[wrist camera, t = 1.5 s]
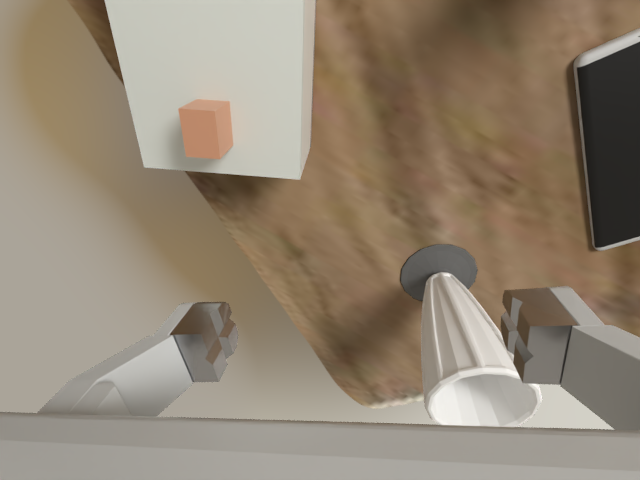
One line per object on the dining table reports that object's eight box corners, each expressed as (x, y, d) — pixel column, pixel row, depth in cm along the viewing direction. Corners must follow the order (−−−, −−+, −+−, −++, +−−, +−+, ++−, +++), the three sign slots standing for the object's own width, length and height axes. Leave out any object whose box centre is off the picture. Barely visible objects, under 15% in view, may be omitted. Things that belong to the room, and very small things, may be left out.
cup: (493, 267, 52) (570, 400, 34) (440, 312, 58) (482, 447, 39) (434, 230, 49) (483, 353, 31) (385, 281, 55) (401, 411, 37)
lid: (80, -138, 24) (23, -171, 20) (307, -128, 24) (298, -160, 19) (148, 164, 36) (122, 183, 32) (301, 175, 35) (294, 196, 31)
